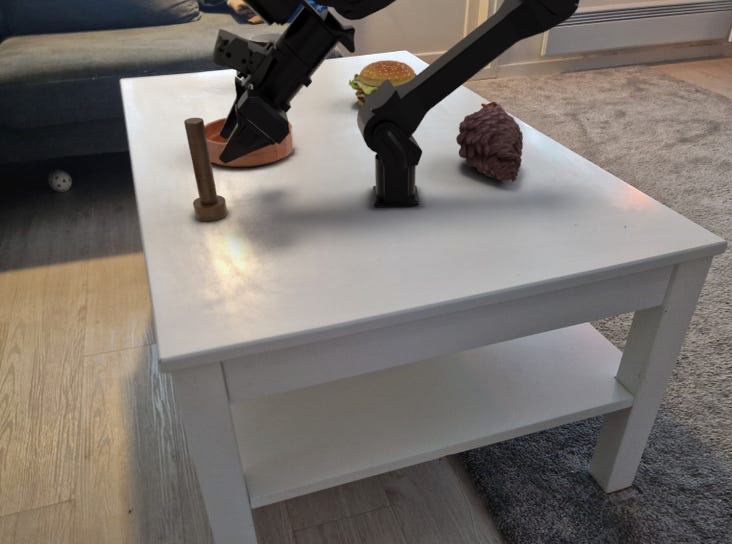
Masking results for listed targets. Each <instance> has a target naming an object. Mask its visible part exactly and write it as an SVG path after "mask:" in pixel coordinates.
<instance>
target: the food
mask: <svg viewBox="0 0 732 544" xmlns="http://www.w3.org/2000/svg"><path fill="white" fill-rule="evenodd" d="M417 75H418V74H416V73H415V69H413V67H411V66H410V65H409V64H407V63H405V62H404V61H403V62H401V61H397V60H391V59H390V60H388V59H387V60H379V61H375V62H374V61H373V62H371V63H369V64H367V65H366V66H364V67H363V68H362V70H361V71H360V73H359V74H358V73H355V74H354V76H353V79H352V80H351V79H349V80H348V81H349V82H348V86H349V87H351V88H352V90H355V91H356V92H355V94H354V95H355V96H356V99H357V100H358V105H359V106H361V105H362V104H363V103H364V102H365V101H366V100H365V98H364V96H365V95H368V94H371V93H372V92H374V91H375V90H376V89H378V87H379V86H380V85H381V84H382V83H383V82H384V81H385V80H386V79H389V80H390V81H391V83H392V84H393V86H394V87H395V86H398V85H401V84H404V83H407V82H409V81H410V80H412V79H413V78H414V77H415V76H417Z"/></svg>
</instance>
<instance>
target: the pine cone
mask: <svg viewBox="0 0 732 544" xmlns="http://www.w3.org/2000/svg"><path fill="white" fill-rule="evenodd" d="M480 104H481V108H480V110H478V111H474V112H473V113H471V114H469V115H468V114H467V115H466V116H464V119H463V121H461V122H459V126H458V132H459V134H457V136H456V138H455V140H456V144H457V145H459V146H460V148H459V150H458V156H459V158H461V159H465V161H466V166H467V167H468V168H471V167H475V168H476V170H477V171H478V172H479V173H481V174H484V175H485V176H486V177H490V178H493V179H497V180H499V181H510V180H511V182H515V181H516V180H517V178H518V175H519V171H520V168H521V166H522V164H521V163H522V158H521V157H522V156H523V151H522V150H523V147H524V143H523V140H524V135H523V131H521V127H520V124H518V123H517V122H516V119H515V118H514V117H513V116H511V115H510V114H508V112H507V111H506V110H505V109H504V108H503V106H502V105H501V104H498V103H497V102H496V101H492V102H489V103H480Z"/></svg>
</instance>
